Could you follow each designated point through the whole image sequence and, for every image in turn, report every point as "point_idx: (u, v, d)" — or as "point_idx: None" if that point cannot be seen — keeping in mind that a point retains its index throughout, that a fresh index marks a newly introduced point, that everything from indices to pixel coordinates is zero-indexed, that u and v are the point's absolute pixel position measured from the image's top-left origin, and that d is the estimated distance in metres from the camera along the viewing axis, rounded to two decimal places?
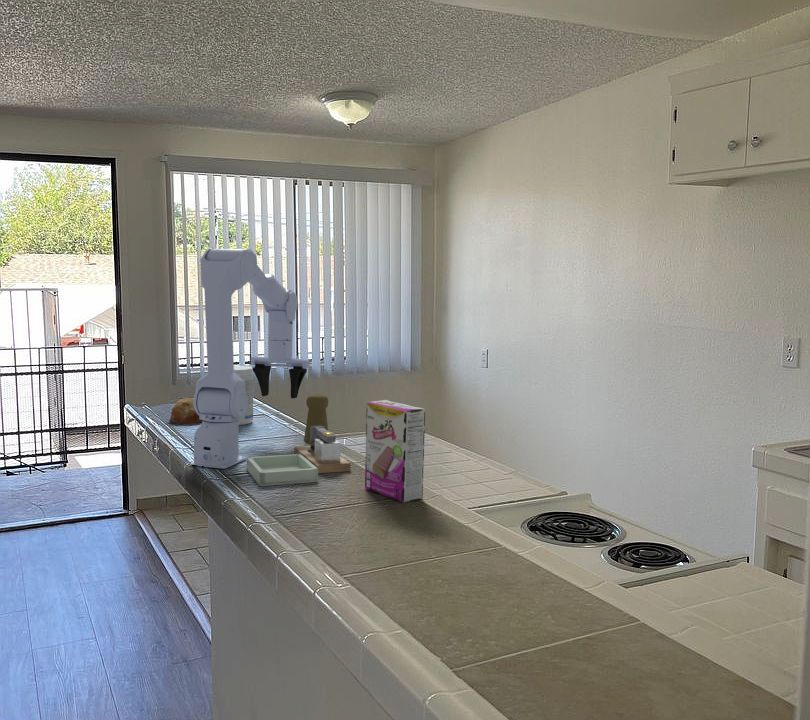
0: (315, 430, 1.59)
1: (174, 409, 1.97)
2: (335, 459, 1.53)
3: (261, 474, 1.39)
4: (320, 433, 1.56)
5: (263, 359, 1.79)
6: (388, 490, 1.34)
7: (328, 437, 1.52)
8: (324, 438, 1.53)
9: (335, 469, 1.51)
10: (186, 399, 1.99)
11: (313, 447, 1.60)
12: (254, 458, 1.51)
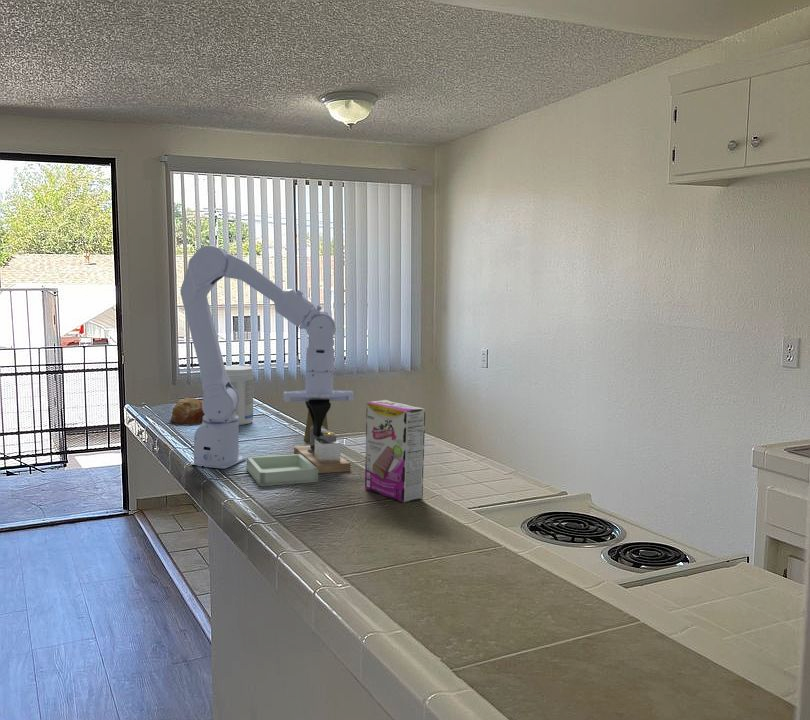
0: None
1: (175, 409, 1.97)
2: (335, 459, 1.53)
3: (261, 474, 1.39)
4: (320, 433, 1.56)
5: None
6: (388, 490, 1.34)
7: (329, 437, 1.52)
8: (325, 438, 1.53)
9: (335, 469, 1.51)
10: (187, 399, 1.99)
11: (313, 447, 1.60)
12: (254, 458, 1.51)
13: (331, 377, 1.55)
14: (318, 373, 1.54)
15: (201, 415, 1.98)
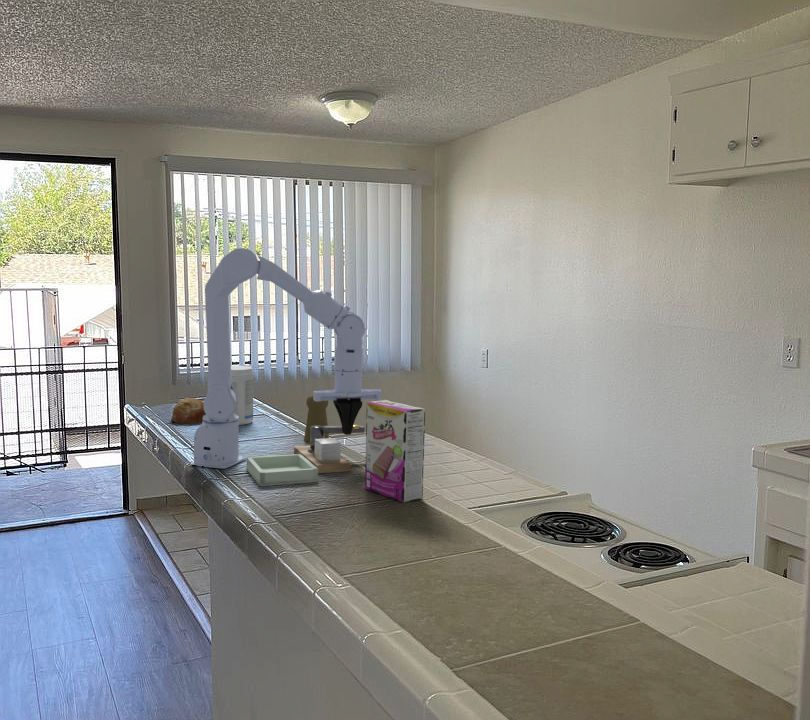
0: (325, 429, 1.61)
1: (176, 409, 1.97)
2: (335, 459, 1.53)
3: (261, 474, 1.39)
4: None
5: None
6: (388, 490, 1.34)
7: None
8: (356, 431, 1.62)
9: (335, 469, 1.51)
10: (187, 399, 1.99)
11: None
12: (254, 458, 1.51)
13: (360, 376, 1.58)
14: (347, 372, 1.56)
15: (201, 415, 1.98)
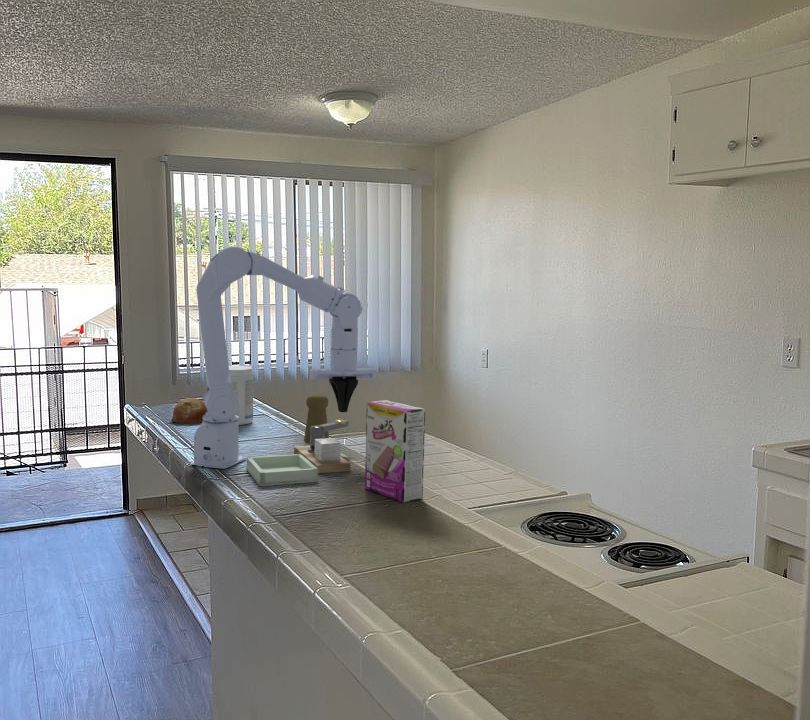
0: (325, 428, 1.62)
1: (176, 409, 1.97)
2: (335, 459, 1.53)
3: (261, 474, 1.39)
4: (335, 425, 1.65)
5: None
6: (388, 490, 1.34)
7: None
8: (343, 425, 1.68)
9: (335, 469, 1.51)
10: (188, 399, 1.99)
11: None
12: (254, 458, 1.51)
13: (355, 355, 1.62)
14: (343, 351, 1.60)
15: (202, 415, 1.98)
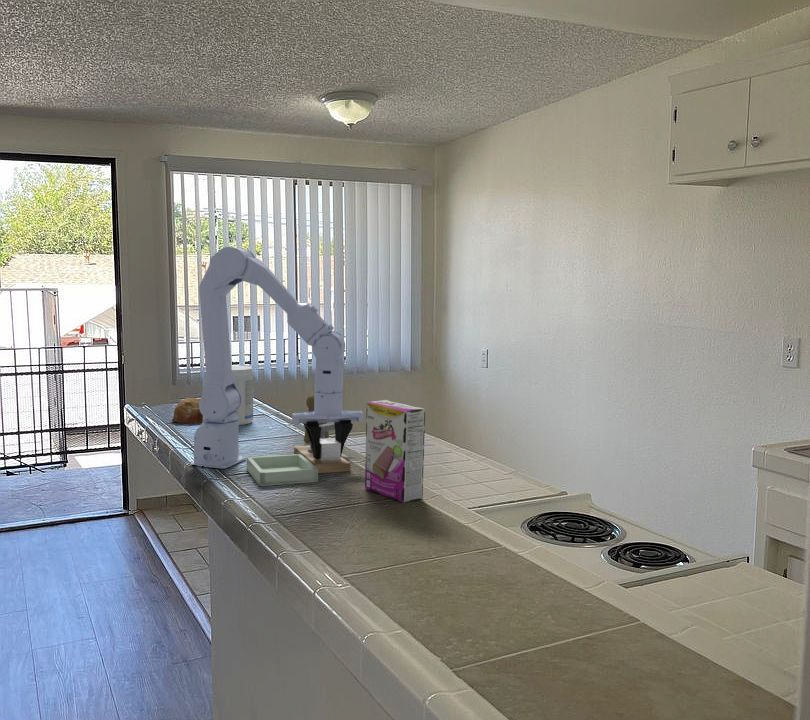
0: (325, 428, 1.62)
1: (177, 409, 1.97)
2: (335, 459, 1.53)
3: (261, 474, 1.39)
4: None
5: None
6: (388, 490, 1.34)
7: None
8: None
9: (335, 469, 1.51)
10: (189, 399, 1.99)
11: None
12: (254, 458, 1.51)
13: (340, 398, 1.53)
14: (327, 394, 1.51)
15: None
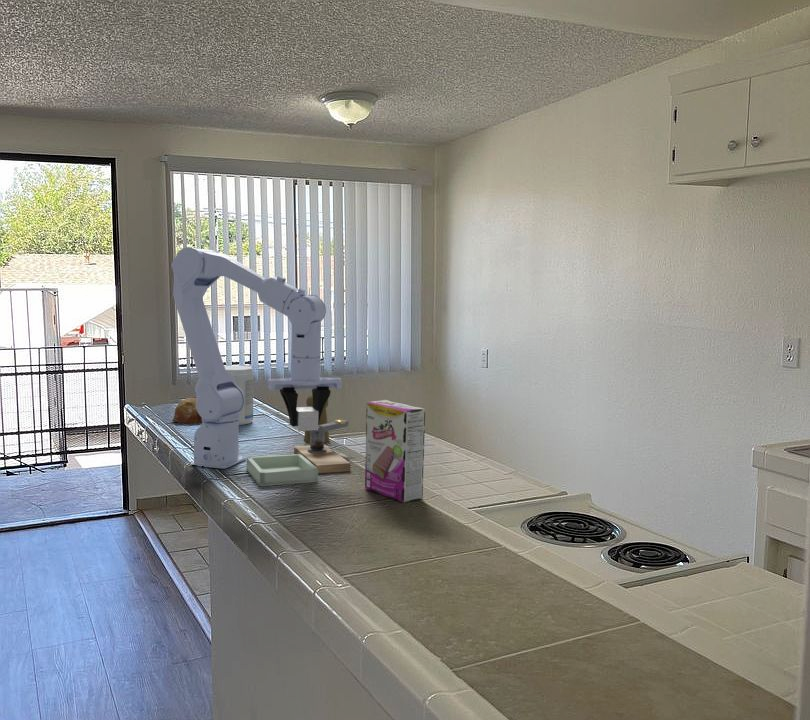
0: (325, 428, 1.62)
1: (177, 409, 1.97)
2: (312, 428, 1.48)
3: (261, 474, 1.39)
4: (335, 425, 1.65)
5: None
6: (388, 490, 1.34)
7: None
8: (343, 425, 1.68)
9: (335, 469, 1.51)
10: (189, 399, 2.00)
11: None
12: (254, 458, 1.51)
13: (318, 363, 1.48)
14: (304, 359, 1.46)
15: None
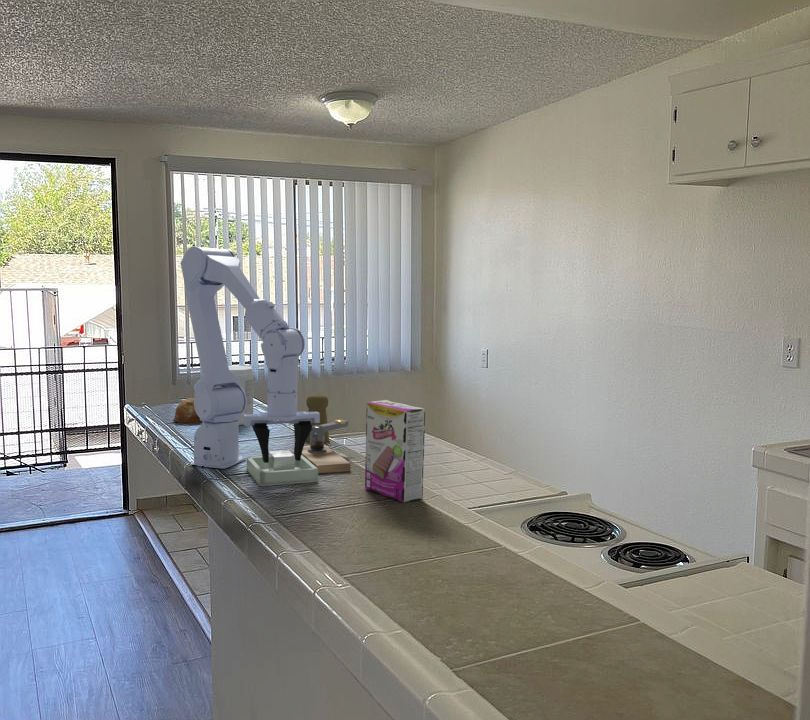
0: (325, 428, 1.62)
1: (178, 409, 1.97)
2: None
3: (261, 474, 1.39)
4: (335, 425, 1.65)
5: None
6: (388, 490, 1.34)
7: None
8: (343, 425, 1.68)
9: (335, 469, 1.51)
10: (190, 399, 2.00)
11: None
12: (254, 458, 1.51)
13: (295, 398, 1.45)
14: (280, 394, 1.43)
15: None
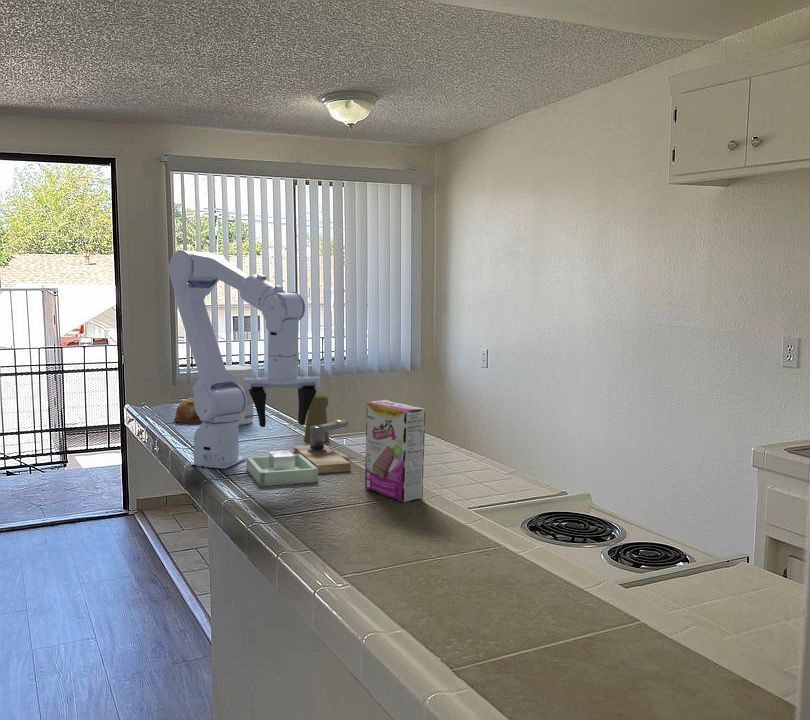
0: (325, 428, 1.62)
1: (179, 409, 1.97)
2: None
3: (261, 474, 1.39)
4: (335, 425, 1.65)
5: None
6: (388, 490, 1.34)
7: None
8: (343, 425, 1.68)
9: (335, 469, 1.51)
10: (191, 399, 2.00)
11: None
12: (254, 458, 1.51)
13: (295, 362, 1.44)
14: (281, 357, 1.42)
15: None
